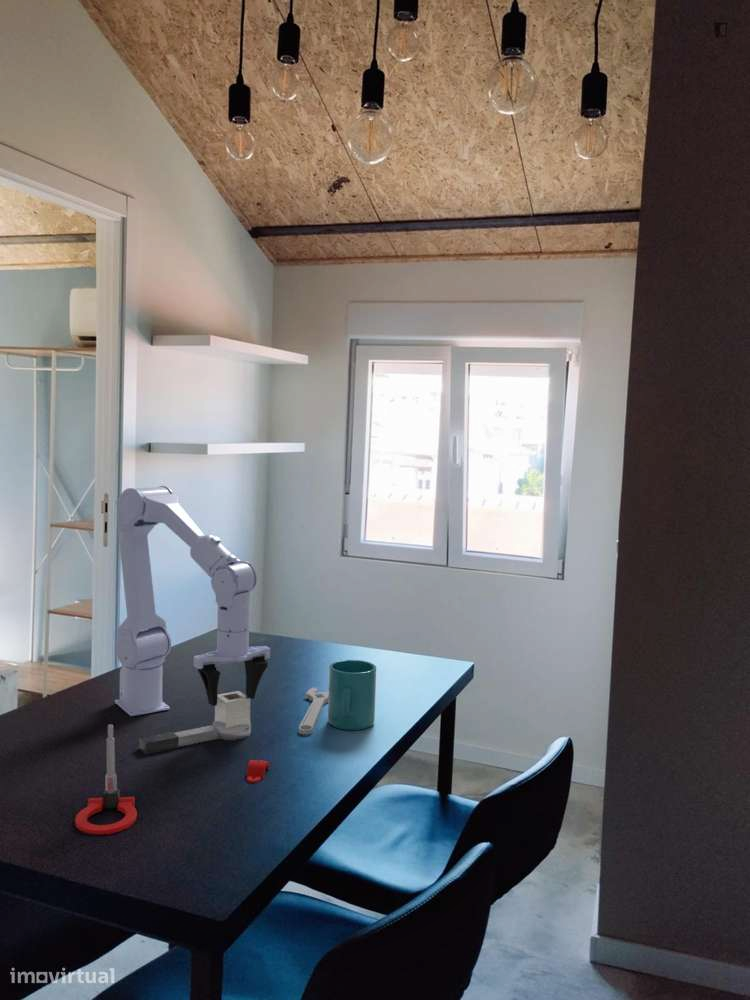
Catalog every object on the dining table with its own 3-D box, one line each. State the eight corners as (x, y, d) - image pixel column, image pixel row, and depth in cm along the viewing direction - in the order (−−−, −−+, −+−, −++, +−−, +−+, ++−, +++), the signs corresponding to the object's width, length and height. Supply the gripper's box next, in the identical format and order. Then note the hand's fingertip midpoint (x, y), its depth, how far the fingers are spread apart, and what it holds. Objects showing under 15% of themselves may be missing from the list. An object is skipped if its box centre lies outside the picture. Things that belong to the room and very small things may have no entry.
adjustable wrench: (311, 738, 157) (311, 729, 157) (277, 735, 158) (278, 726, 158) (340, 695, 181) (340, 686, 181) (311, 692, 183) (311, 684, 182)
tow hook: (132, 837, 119) (141, 804, 128) (131, 749, 117) (140, 722, 126) (69, 839, 117) (83, 806, 127) (67, 751, 116) (81, 723, 125)
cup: (320, 735, 157) (322, 676, 156) (332, 713, 169) (334, 658, 168) (368, 739, 156) (370, 679, 155) (377, 716, 168) (379, 661, 167)
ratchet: (135, 745, 150) (135, 720, 149) (240, 723, 162) (240, 700, 161) (149, 758, 144) (149, 733, 144) (257, 735, 156) (257, 712, 156)
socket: (214, 721, 157) (215, 695, 157) (238, 716, 160) (238, 690, 160) (225, 729, 153) (226, 702, 153) (249, 724, 156) (250, 698, 156)
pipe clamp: (255, 763, 144) (255, 751, 144) (271, 765, 144) (271, 752, 144) (243, 784, 136) (243, 771, 136) (260, 785, 136) (261, 772, 136)
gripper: (205, 638, 148) (204, 714, 149) (278, 628, 156) (276, 700, 157) (189, 629, 153) (188, 702, 155) (260, 620, 162) (259, 689, 163)
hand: (231, 700), depth 156 cm, fingers open, 7 cm apart
